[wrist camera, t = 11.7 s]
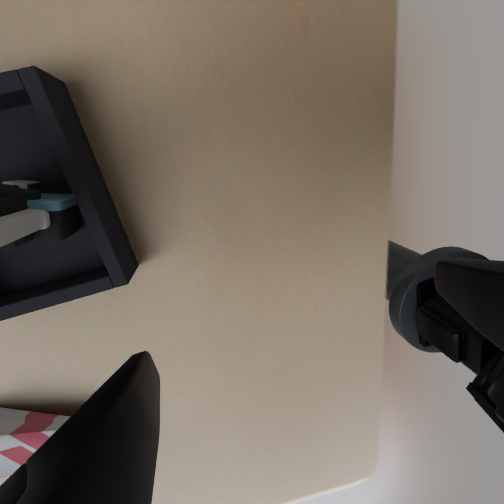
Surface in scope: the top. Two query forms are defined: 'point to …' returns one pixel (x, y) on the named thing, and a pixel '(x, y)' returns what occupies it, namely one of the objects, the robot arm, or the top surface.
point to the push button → (34, 215)
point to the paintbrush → (23, 436)
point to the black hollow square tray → (56, 182)
